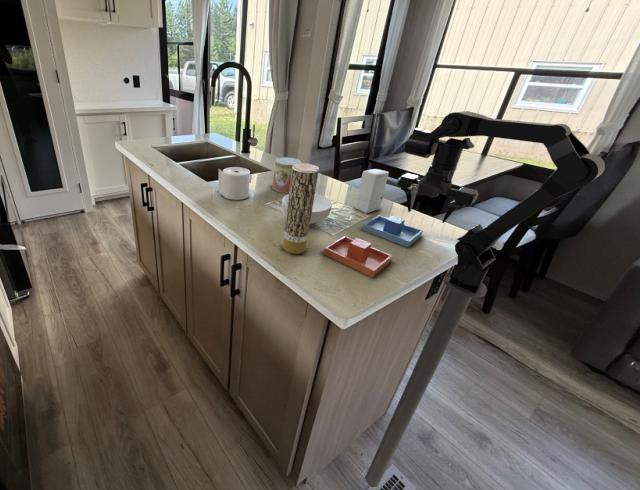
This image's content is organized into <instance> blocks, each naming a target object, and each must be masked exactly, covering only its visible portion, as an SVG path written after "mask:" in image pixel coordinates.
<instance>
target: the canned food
mask: <svg viewBox="0 0 640 490" xmlns="http://www.w3.org/2000/svg"><path fill="white" fill-rule="evenodd" d="M297 163H303V161H302V160H301V159H299V158H296V157H289V156H281V157H276V158H275V159H274V167H273V176H272V185H271V188H272V189H273V190H274V191H276V192H279V193H283V194H289V191H290V183H291V175H292V167H293V165H294V164H297Z"/></svg>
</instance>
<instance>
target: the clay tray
mask: <svg viewBox="0 0 640 490" xmlns="http://www.w3.org/2000/svg"><path fill="white" fill-rule="evenodd" d="M353 240H354V238H351V237H349V236H347V235H343V236H341V238H338V239H337V240H335V241H333V242H332V243H330V244H329V245H327V246H325V247H324V249H323V255H325V256H327V257H328V258H331V259H333V260H335V261H336V262H337V261H338V262H339V263H341V264H343V265H345V266H348V267H349V268H352V269H353V270H355V271H358V272H360V273H362V274H364V275H367V276H368V277H371V278H374V277H375V276H377V274H379V273H380V272H381V271H382V270H383V269H384V268H386V267H387V266H388V265H389V264H390V263H391V262H392V259H393V255H392V254H389V253H387V252H385V251H382V250H380V249H377V248H375V247H373V246H371V247H370V251H369V255H368V257H367V258H366V259H364V260H363V261H362V262H359V261H357V260H355V259H353V258H350V257H348V256H347V252H348V248H349V244H350V242H352V241H353Z"/></svg>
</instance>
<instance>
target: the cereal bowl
mask: <svg viewBox="0 0 640 490" xmlns="http://www.w3.org/2000/svg"><path fill="white" fill-rule="evenodd" d="M288 199H289V193H287V194H286V195H284V196H283V198H282V210H283V213H284V215H285V216H286V215H287V207H288ZM332 206H333V203H332V200H330V199H329V198H328V197H326V196H323V195H321V194H318V193H315V196H314V202H313V208H312V214H311V220H310V225H313V224H318V223H320V222H321V223H322V221H325V220H326V219H327V218H328V217H329V216H330V214H331V211H332V208H333V207H332Z"/></svg>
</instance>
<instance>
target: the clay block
mask: <svg viewBox="0 0 640 490" xmlns="http://www.w3.org/2000/svg"><path fill="white" fill-rule="evenodd" d="M370 247H372V242H369V241H366V240H363V239H361V238H359V237H356V238H355V239H353V241H352V242H350V244H349V248H348V252H347V256H348V257H350V258H353V259H355V260H357V261H359V262H362V261H363V260H364V259H366V258H367V257H368V255H369V251H370Z"/></svg>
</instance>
